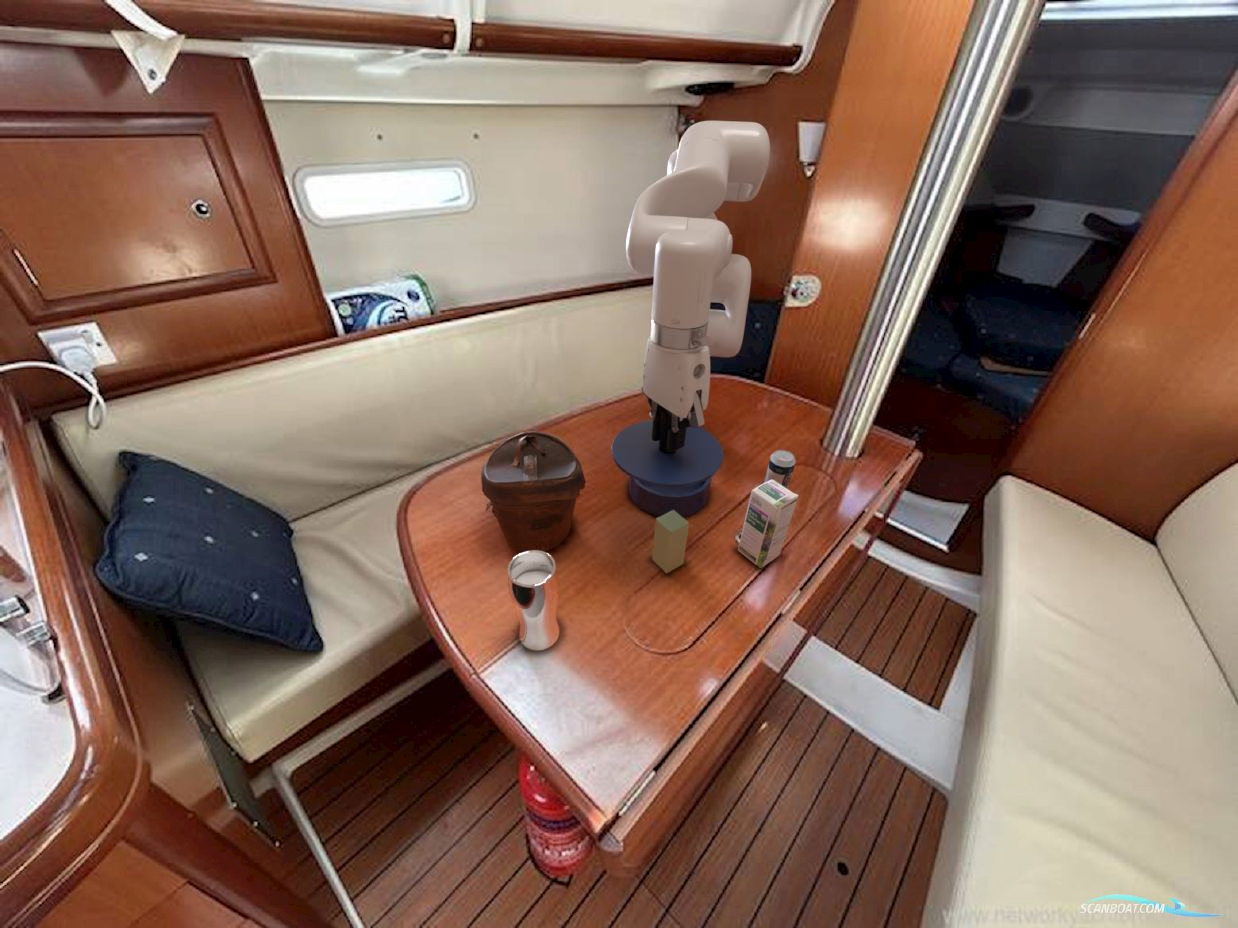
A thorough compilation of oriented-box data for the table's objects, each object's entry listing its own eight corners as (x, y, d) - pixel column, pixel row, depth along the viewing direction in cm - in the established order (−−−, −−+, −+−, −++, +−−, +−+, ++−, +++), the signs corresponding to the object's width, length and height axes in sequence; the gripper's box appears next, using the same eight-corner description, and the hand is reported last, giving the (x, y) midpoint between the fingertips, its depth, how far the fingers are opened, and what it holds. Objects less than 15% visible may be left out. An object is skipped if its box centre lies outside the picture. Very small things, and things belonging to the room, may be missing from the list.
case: (542, 483, 107) (536, 410, 96) (606, 531, 96) (607, 455, 85) (468, 522, 97) (451, 446, 86) (530, 581, 85) (520, 502, 75)
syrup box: (735, 550, 92) (749, 489, 84) (757, 537, 95) (772, 476, 87) (760, 569, 89) (777, 508, 80) (781, 555, 92) (800, 494, 83)
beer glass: (518, 615, 80) (508, 549, 71) (562, 613, 80) (557, 547, 72) (514, 655, 74) (503, 588, 65) (562, 652, 75) (557, 586, 66)
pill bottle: (783, 512, 101) (797, 464, 94) (759, 508, 102) (771, 460, 95) (782, 497, 105) (795, 450, 98) (759, 493, 106) (770, 446, 99)
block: (652, 559, 90) (655, 518, 84) (668, 550, 92) (673, 509, 86) (666, 573, 88) (671, 532, 82) (683, 563, 90) (689, 522, 84)
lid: (590, 446, 82) (589, 405, 77) (672, 414, 90) (676, 375, 85) (659, 506, 70) (663, 462, 66) (745, 463, 79) (754, 421, 74)
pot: (613, 484, 107) (613, 464, 104) (672, 458, 115) (675, 439, 112) (663, 529, 96) (665, 508, 93) (725, 497, 105) (729, 476, 101)
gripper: (742, 346, 64) (722, 461, 75) (661, 308, 75) (653, 413, 86) (699, 361, 61) (684, 478, 72) (620, 318, 71) (618, 427, 82)
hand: (667, 442), depth 79 cm, fingers closed on lid, 2 cm apart
